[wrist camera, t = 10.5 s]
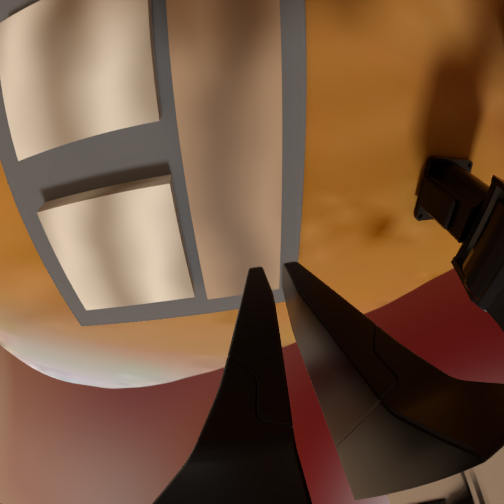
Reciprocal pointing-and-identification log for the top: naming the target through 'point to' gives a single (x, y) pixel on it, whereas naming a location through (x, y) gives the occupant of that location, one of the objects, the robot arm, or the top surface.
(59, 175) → the underlay
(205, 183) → the light brown plank
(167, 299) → the beige flat square block
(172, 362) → the top surface
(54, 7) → the light beige plank
